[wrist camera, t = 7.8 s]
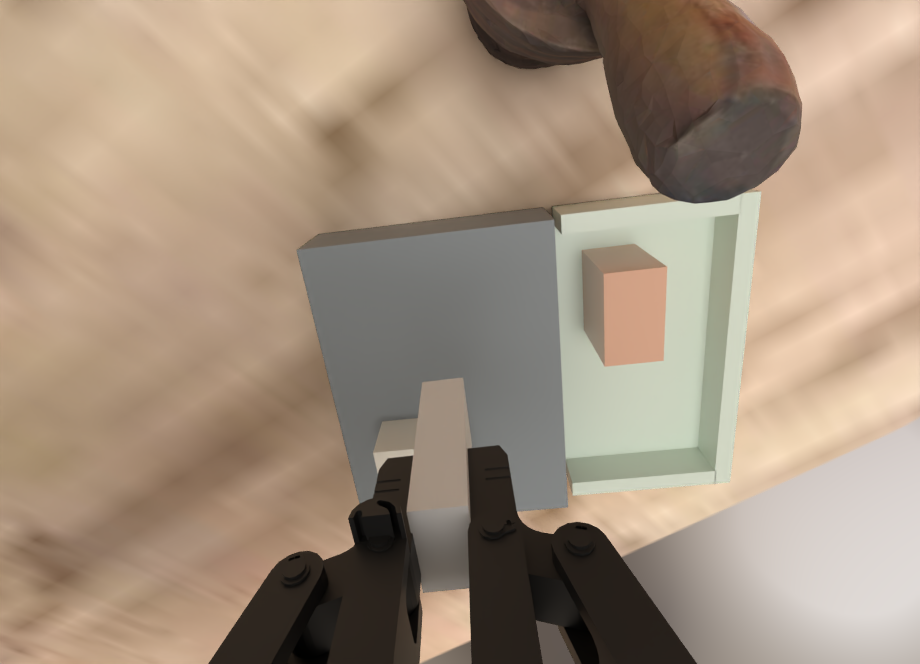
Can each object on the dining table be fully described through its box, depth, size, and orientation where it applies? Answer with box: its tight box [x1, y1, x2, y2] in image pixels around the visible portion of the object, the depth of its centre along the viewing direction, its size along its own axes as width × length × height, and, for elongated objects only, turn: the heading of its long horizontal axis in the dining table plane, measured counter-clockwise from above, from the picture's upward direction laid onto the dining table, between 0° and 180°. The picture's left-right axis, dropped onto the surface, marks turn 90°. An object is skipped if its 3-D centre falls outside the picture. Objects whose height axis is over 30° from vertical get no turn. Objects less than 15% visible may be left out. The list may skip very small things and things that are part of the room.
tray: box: [552, 189, 761, 496], centre depth 30 cm, size 10×18×3 cm, turn 7°
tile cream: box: [373, 418, 418, 473], centre depth 28 cm, size 5×5×3 cm
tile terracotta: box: [582, 244, 667, 367], centre depth 27 cm, size 5×5×3 cm
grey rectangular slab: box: [297, 207, 568, 511], centre depth 30 cm, size 13×18×4 cm
